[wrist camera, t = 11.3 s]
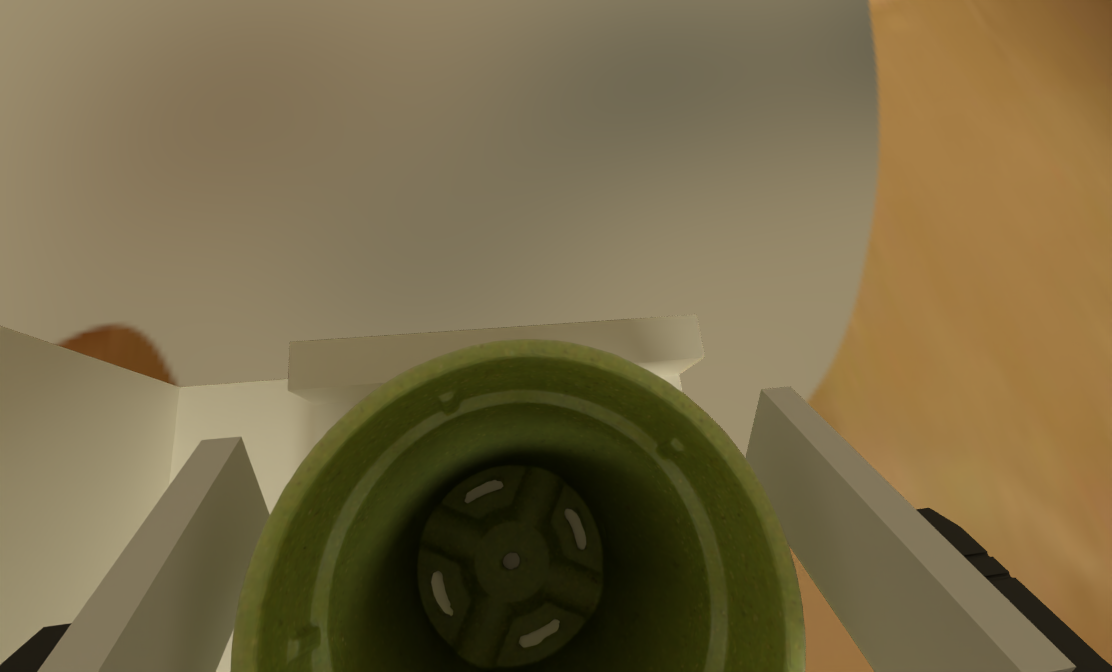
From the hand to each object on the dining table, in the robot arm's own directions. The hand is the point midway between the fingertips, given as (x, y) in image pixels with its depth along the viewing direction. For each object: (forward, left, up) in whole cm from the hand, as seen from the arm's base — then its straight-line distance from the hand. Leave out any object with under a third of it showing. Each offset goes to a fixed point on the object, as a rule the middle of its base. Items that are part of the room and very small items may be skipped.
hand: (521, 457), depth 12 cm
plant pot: (+2, +2, -6) cm, 7 cm away
